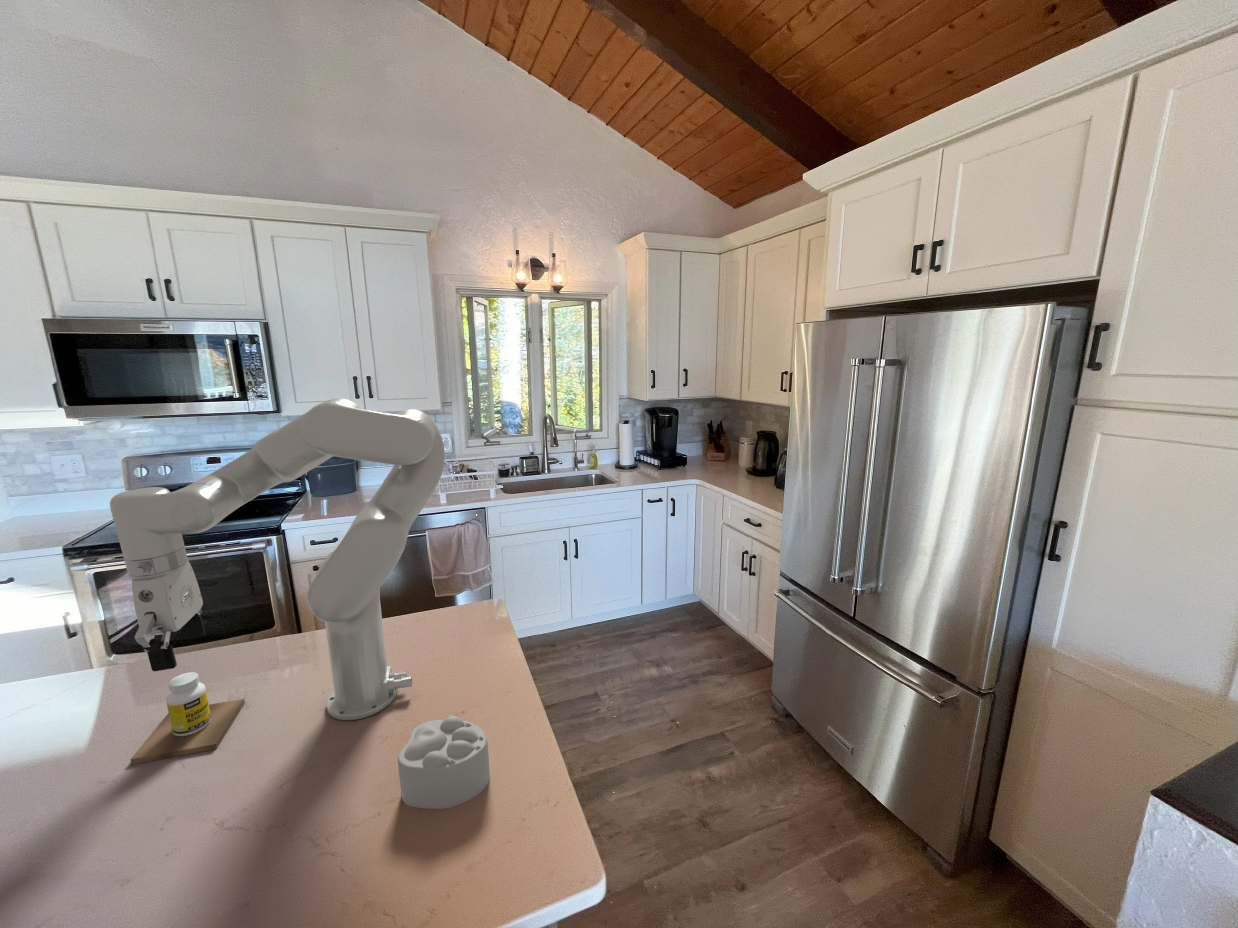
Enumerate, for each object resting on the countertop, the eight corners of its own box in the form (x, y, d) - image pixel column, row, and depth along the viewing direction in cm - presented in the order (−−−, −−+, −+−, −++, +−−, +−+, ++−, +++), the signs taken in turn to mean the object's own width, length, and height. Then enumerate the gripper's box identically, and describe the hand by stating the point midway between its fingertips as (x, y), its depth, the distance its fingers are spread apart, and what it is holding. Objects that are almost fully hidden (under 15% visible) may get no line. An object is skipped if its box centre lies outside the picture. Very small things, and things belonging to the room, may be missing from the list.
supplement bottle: (189, 739, 88) (179, 690, 86) (164, 734, 89) (154, 686, 87) (219, 718, 93) (210, 671, 91) (195, 713, 94) (186, 667, 92)
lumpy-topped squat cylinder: (422, 754, 86) (418, 710, 84) (497, 755, 86) (494, 712, 84) (394, 807, 76) (389, 759, 74) (479, 809, 76) (476, 761, 74)
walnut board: (245, 703, 98) (244, 698, 98) (216, 748, 87) (215, 743, 87) (171, 715, 95) (170, 710, 95) (131, 764, 84) (130, 759, 83)
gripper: (154, 580, 77) (180, 678, 81) (208, 540, 93) (227, 623, 97) (93, 588, 75) (122, 687, 79) (159, 545, 91) (181, 630, 95)
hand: (180, 652), depth 88 cm, fingers open, 9 cm apart
